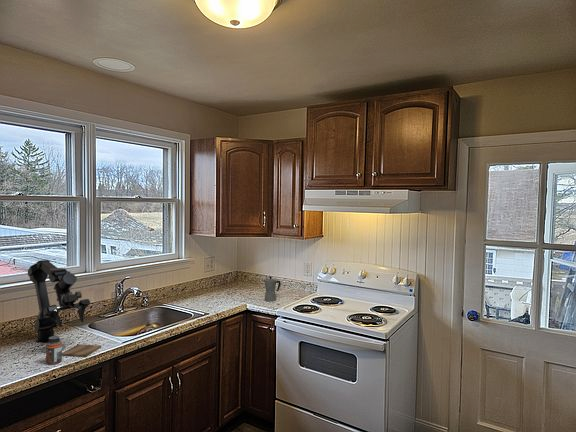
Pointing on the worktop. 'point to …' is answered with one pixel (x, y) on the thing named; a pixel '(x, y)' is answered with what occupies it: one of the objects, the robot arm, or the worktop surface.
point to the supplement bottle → (54, 350)
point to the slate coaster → (45, 348)
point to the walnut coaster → (81, 350)
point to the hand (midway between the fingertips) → (72, 324)
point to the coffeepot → (271, 289)
